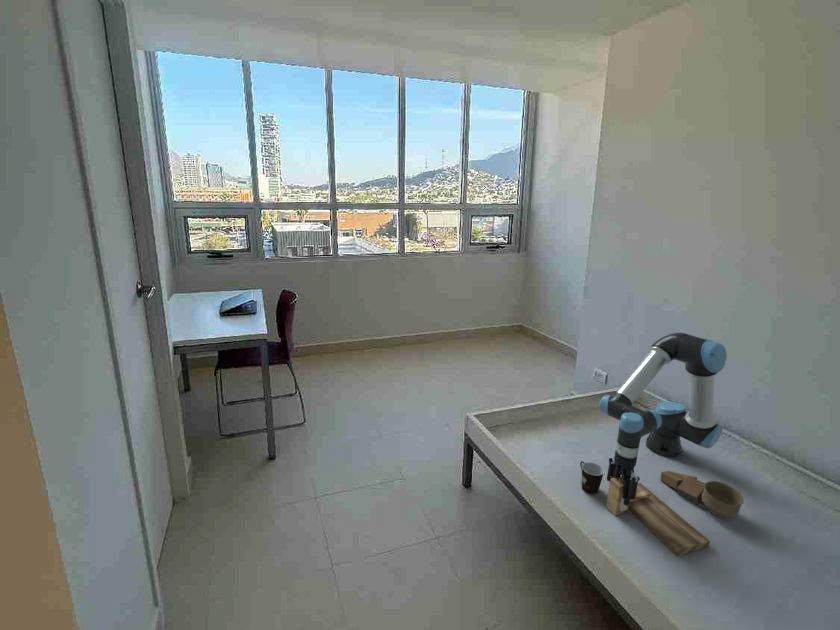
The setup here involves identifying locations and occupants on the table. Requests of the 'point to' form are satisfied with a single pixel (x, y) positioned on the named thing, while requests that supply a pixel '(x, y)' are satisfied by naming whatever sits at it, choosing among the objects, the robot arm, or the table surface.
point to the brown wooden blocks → (684, 485)
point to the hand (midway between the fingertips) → (617, 504)
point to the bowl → (722, 499)
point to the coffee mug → (591, 477)
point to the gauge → (620, 496)
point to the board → (667, 524)
